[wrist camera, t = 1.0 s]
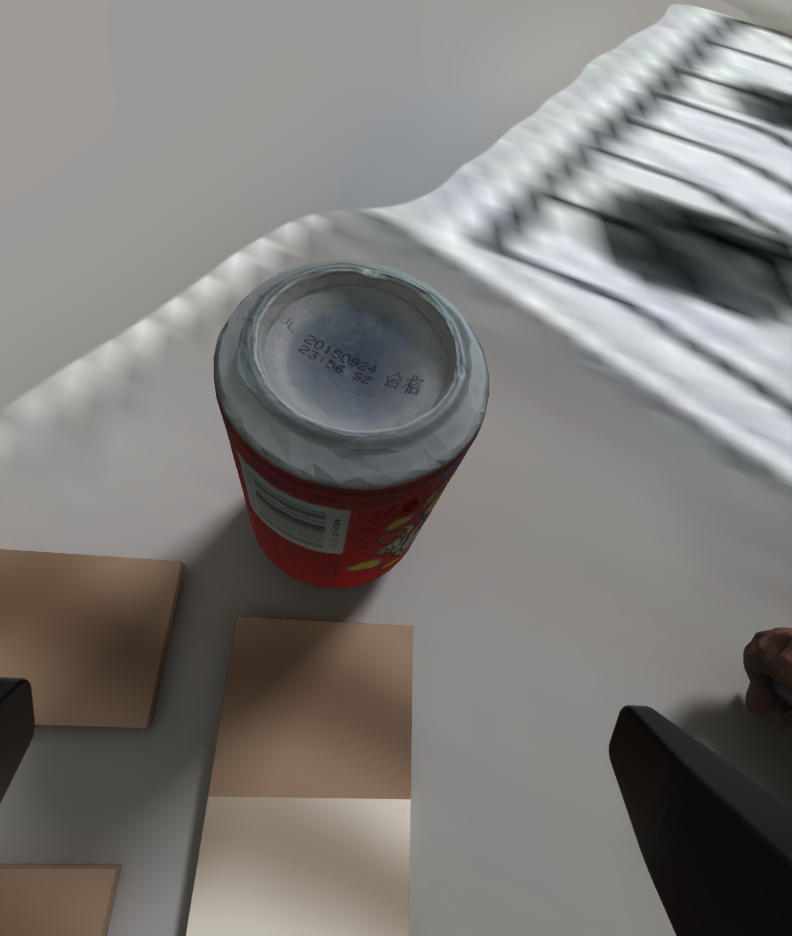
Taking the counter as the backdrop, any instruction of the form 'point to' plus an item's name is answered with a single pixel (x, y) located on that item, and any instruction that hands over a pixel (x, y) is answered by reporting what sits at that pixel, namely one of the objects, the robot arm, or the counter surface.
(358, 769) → the brown wooden board
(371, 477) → the soda can
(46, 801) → the counter surface
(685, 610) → the counter surface
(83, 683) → the lane broken
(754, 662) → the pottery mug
